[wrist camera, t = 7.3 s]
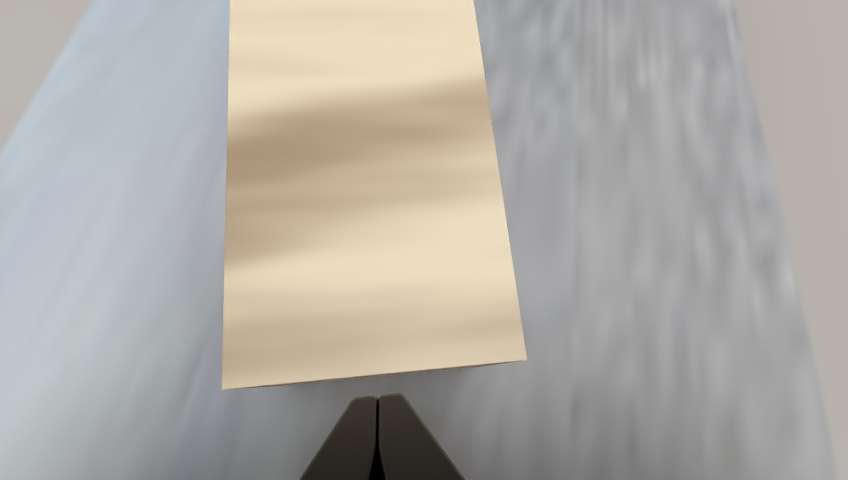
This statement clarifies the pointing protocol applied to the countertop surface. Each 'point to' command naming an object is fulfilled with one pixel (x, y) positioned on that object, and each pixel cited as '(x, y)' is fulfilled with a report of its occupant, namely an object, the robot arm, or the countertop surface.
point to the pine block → (362, 195)
